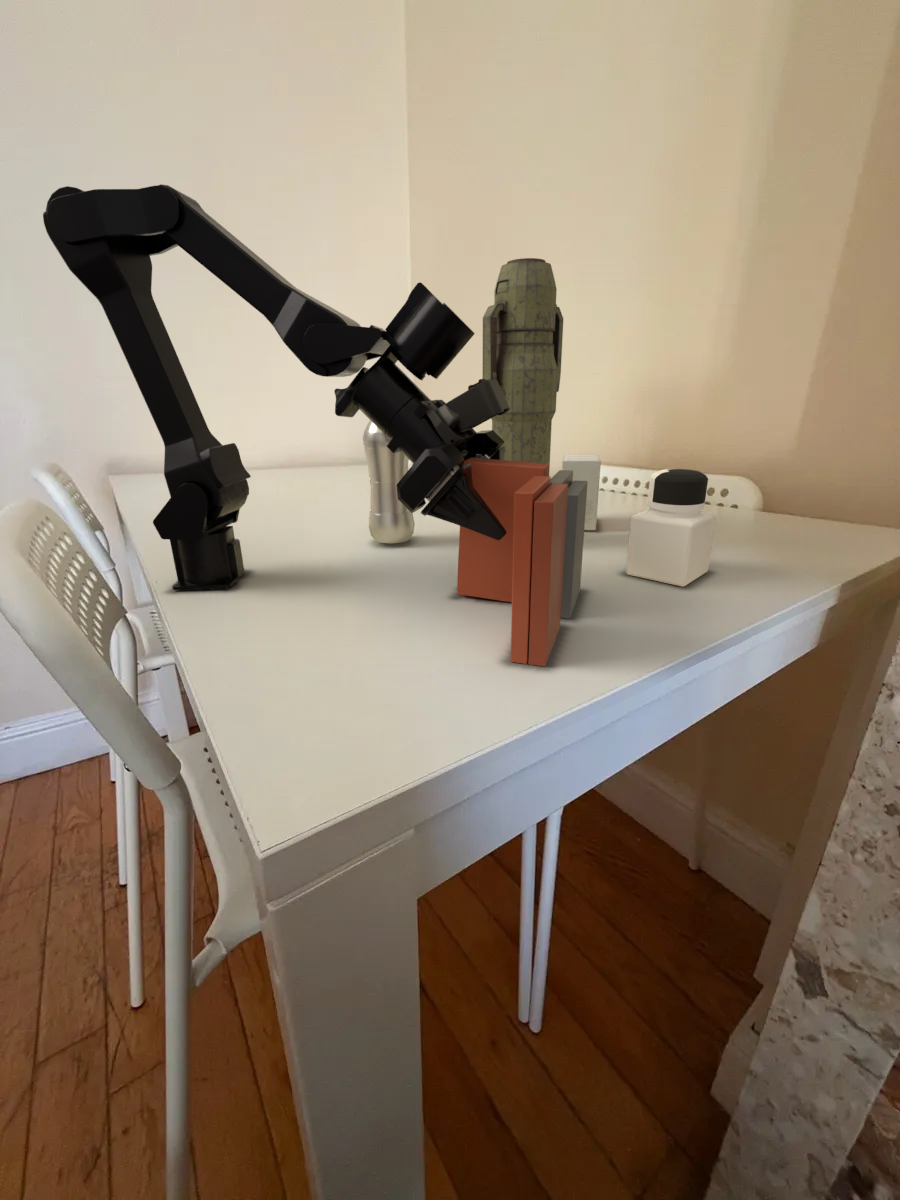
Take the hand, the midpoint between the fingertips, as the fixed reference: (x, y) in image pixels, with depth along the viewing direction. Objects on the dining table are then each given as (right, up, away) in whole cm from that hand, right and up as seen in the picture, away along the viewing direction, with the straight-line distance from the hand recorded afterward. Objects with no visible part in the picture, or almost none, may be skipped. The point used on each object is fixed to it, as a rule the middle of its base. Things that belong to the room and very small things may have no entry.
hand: (514, 525), depth 58 cm
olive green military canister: (+3, +1, +24) cm, 24 cm away
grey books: (+5, -8, +1) cm, 9 cm away
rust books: (+1, -11, -8) cm, 14 cm away
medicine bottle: (+19, -5, +10) cm, 22 cm away
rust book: (-2, -7, +3) cm, 8 cm away
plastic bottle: (-15, +1, +25) cm, 29 cm away
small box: (+14, +4, +33) cm, 36 cm away
